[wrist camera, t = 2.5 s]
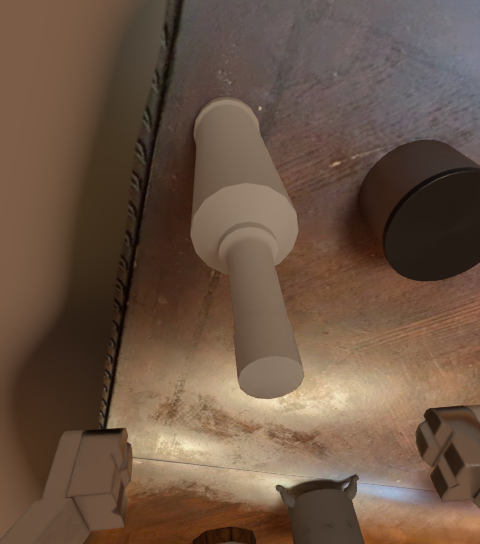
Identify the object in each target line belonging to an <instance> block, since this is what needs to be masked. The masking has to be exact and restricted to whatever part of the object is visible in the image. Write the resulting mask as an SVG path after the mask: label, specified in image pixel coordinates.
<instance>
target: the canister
mask: <svg viewBox="0 0 480 544" xmlns="http://www.w3.org/2000/svg"><path fill="white" fill-rule="evenodd" d="M358 207H359V213H360V217H361V219H362V221H363V223H364V224H365V226H366V227H367V229H368V230H369V232H370V233H371V235H372V236H373V238H374V239H375V241H376V242H377V244H378V245H379V247H380V248H381V250H382V251H383V253H384V255H385V257H386V259H387V261H388V263H389V264H390V265H391V267H392V268H393V269H394V270H395V271H396V272H397V273H399V274H400V275H402V276H404V277H406V278H408V279H412V280H416V281H437V280H443V279H447V278H450V277H453V276H456V275H458V274H461V273H463V272H465V271H467V270H469V269H470V268H472V267H474V266H475V265H477V264H478V263H480V165H478V164H477V163H475V162H474V161H472V160H471V159H469V158H468V157H466V156H465V155H463V154H462V153H460V152H459V151H457V150H456V149H454V148H453V147H451V146H450V145H448V144H446V143H443V142H440V141H435V140H420V141H415V142H411V143H408V144H405V145H403V146H400V147H398V148H396V149H395V150H393V151H391V152H390V153H388V154H387V155H386V156H384V157H383V158H382V159H381V160H380V161H379V162H378V163H377V164H376V165H375V166H374V167H373V168H372V169H371V171H370V172H369V174H368V175H367V177H366V179H365V180H364V183H363V185H362V187H361V191H360V194H359V201H358Z"/></svg>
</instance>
